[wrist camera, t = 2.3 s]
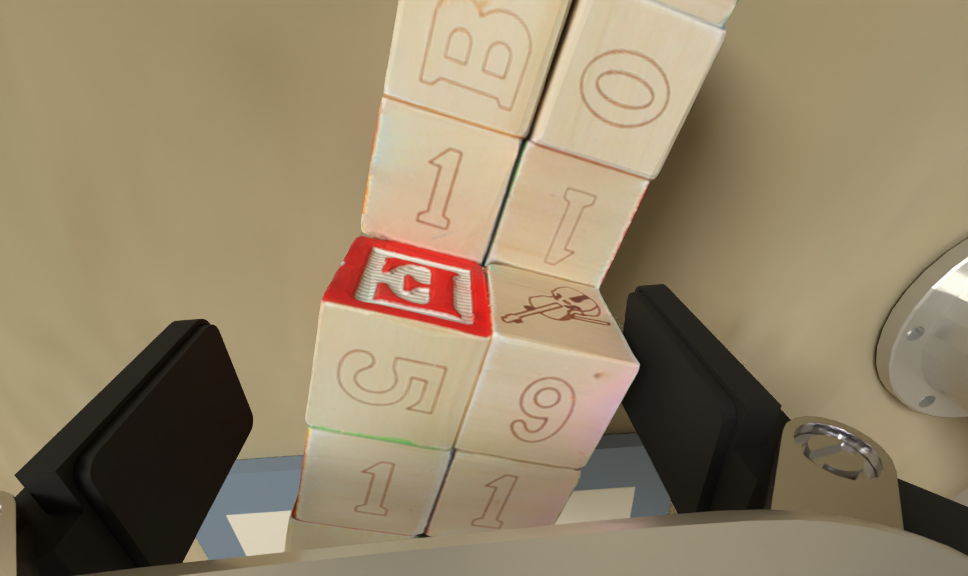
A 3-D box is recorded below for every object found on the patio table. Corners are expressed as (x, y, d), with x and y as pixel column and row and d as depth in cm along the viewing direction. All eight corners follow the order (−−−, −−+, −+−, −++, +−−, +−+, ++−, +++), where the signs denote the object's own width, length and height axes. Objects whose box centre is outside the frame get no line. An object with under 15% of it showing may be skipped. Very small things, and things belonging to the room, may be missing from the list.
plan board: (677, 430, 26) (685, 443, 25) (642, 580, 34) (648, 595, 33) (172, 464, 25) (161, 479, 24) (252, 610, 33) (246, 625, 32)
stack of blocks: (463, -125, 14) (472, -764, 3) (635, -51, 15) (1082, -336, 4) (354, 377, 23) (261, 656, 12) (466, 400, 24) (470, 674, 14)
